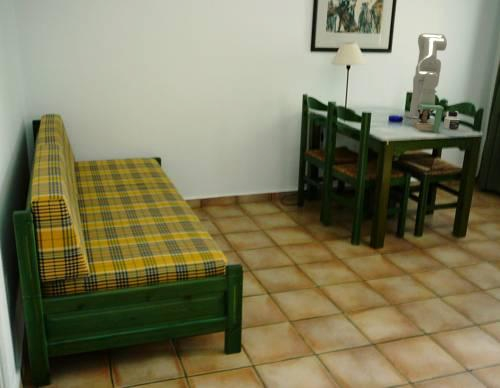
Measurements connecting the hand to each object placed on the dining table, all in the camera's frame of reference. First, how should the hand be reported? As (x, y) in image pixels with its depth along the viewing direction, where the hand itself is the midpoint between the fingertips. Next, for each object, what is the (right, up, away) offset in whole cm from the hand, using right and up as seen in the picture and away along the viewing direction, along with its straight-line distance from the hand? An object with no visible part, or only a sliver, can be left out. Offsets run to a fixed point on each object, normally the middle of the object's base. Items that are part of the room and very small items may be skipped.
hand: (424, 119), depth 348 cm
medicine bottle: (+19, -6, +3) cm, 20 cm away
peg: (0, -3, +1) cm, 3 cm away
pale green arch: (0, -9, -8) cm, 11 cm away
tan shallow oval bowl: (0, -6, 0) cm, 6 cm away
